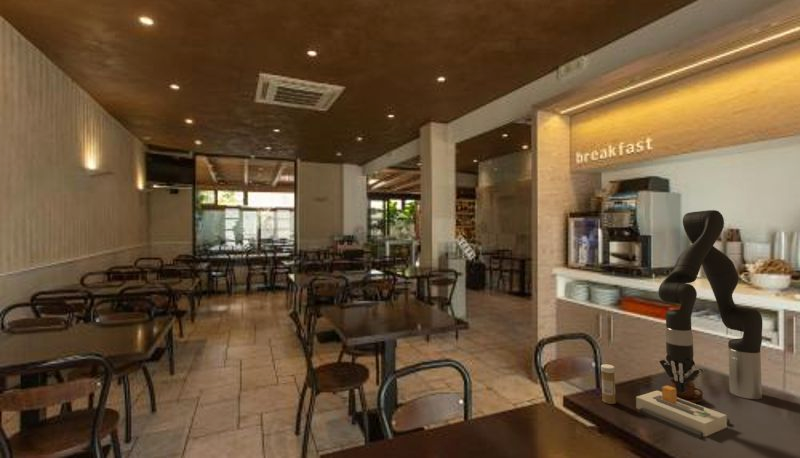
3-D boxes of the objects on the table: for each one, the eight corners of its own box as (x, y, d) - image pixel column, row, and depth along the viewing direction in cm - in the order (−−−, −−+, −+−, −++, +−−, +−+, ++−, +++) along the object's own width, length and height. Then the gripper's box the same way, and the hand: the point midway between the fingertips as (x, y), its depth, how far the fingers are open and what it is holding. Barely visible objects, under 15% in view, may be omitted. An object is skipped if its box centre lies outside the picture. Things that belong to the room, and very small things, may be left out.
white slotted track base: (669, 400, 145) (669, 397, 145) (733, 424, 127) (733, 420, 127) (636, 412, 138) (636, 408, 138) (699, 438, 119) (699, 435, 119)
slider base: (657, 400, 146) (657, 387, 146) (726, 427, 126) (726, 411, 126) (636, 407, 141) (636, 394, 141) (705, 436, 121) (704, 420, 121)
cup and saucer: (700, 396, 149) (700, 379, 149) (704, 408, 139) (704, 391, 139) (663, 389, 156) (662, 374, 156) (664, 401, 146) (663, 384, 146)
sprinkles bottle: (618, 402, 146) (617, 366, 146) (611, 405, 143) (610, 368, 143) (606, 398, 149) (604, 362, 149) (599, 401, 147) (598, 365, 147)
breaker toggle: (667, 398, 138) (667, 385, 138) (676, 401, 135) (676, 388, 135) (662, 400, 137) (661, 387, 137) (671, 403, 134) (670, 390, 134)
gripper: (707, 344, 128) (709, 397, 128) (665, 335, 140) (667, 383, 140) (694, 348, 125) (696, 402, 125) (652, 338, 137) (654, 387, 137)
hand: (681, 392), depth 132 cm, fingers closed
